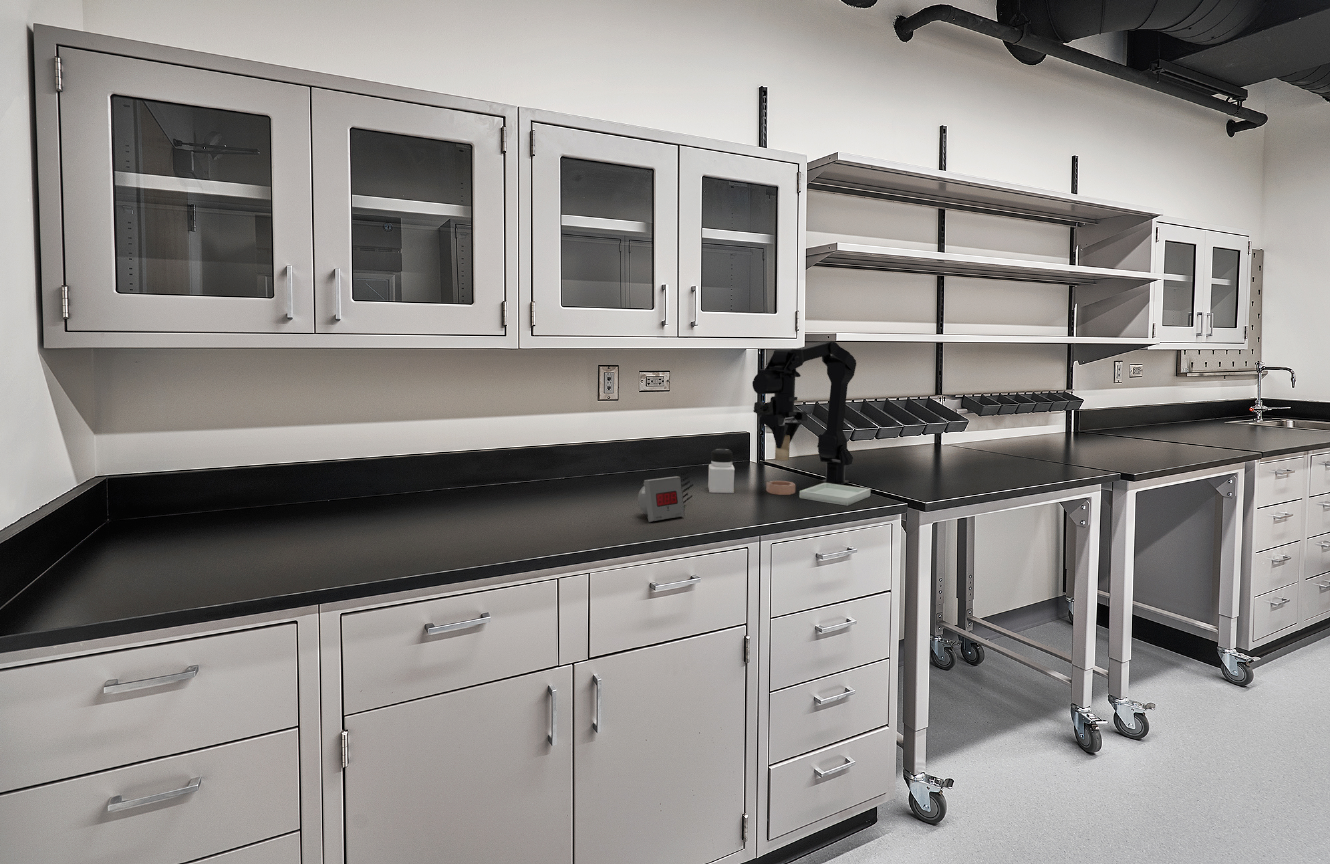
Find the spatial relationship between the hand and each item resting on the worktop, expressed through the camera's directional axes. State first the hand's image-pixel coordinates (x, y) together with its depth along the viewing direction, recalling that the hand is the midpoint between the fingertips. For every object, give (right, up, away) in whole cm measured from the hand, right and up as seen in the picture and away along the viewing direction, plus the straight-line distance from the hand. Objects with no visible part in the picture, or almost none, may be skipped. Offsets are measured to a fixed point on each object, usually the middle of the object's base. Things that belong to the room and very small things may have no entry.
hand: (782, 447), depth 200 cm
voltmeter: (-32, -16, -25) cm, 43 cm away
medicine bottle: (-17, -13, +2) cm, 22 cm away
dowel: (0, -4, 0) cm, 4 cm away
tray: (+14, -14, -4) cm, 20 cm away
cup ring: (0, -13, +2) cm, 13 cm away
